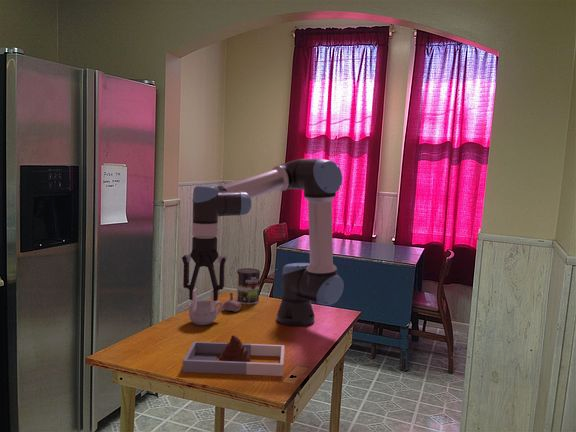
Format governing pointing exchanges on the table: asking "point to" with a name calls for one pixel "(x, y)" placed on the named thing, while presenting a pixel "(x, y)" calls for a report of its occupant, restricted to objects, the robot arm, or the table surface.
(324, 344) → the table surface
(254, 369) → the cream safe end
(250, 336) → the table surface
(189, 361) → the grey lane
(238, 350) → the poop emoji
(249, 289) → the coffee can
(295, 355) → the table surface
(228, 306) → the garlic bulb
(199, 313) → the teacup
